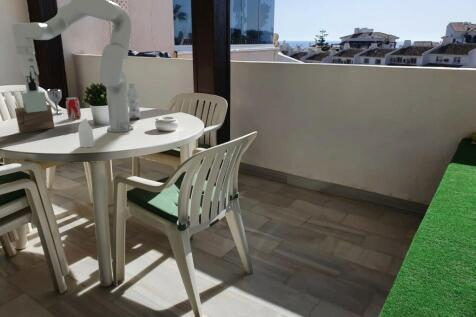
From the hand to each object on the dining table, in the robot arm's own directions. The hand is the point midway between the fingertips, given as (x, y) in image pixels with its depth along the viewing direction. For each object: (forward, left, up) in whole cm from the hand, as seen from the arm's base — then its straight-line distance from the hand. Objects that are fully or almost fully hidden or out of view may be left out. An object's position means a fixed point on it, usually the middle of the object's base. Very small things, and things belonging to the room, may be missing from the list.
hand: (32, 90), depth 172 cm
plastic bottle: (-6, -50, -21) cm, 54 cm away
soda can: (+19, -25, -21) cm, 38 cm away
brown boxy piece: (+5, 0, -20) cm, 21 cm away
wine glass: (+40, -23, -21) cm, 50 cm away
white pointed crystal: (-44, -5, -21) cm, 49 cm away
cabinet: (0, 0, -10) cm, 10 cm away
